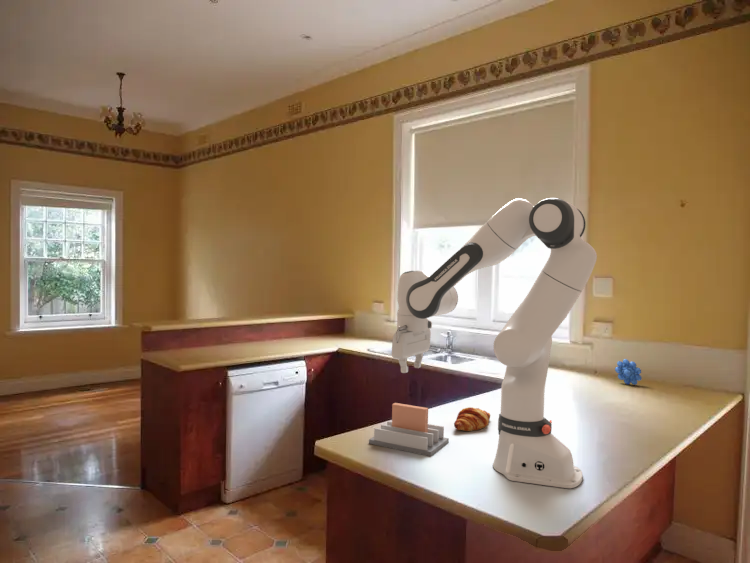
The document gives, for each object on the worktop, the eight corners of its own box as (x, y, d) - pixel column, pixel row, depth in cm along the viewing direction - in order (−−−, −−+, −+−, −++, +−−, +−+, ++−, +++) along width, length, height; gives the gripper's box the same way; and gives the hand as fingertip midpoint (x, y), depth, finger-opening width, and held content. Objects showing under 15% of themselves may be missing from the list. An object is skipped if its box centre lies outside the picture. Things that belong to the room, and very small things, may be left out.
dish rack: (448, 442, 160) (448, 426, 160) (430, 456, 148) (431, 439, 148) (390, 431, 170) (390, 416, 169) (368, 443, 157) (369, 427, 157)
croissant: (480, 428, 187) (472, 406, 189) (504, 419, 181) (495, 397, 184) (448, 440, 171) (440, 416, 173) (473, 432, 165) (464, 407, 167)
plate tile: (427, 441, 157) (428, 408, 157) (424, 443, 155) (425, 409, 155) (394, 434, 162) (395, 402, 162) (391, 436, 160) (392, 404, 160)
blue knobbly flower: (612, 384, 249) (613, 359, 249) (615, 381, 254) (616, 357, 254) (639, 387, 242) (640, 362, 242) (642, 385, 248) (643, 360, 247)
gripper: (406, 327, 147) (405, 377, 147) (434, 322, 165) (433, 365, 165) (386, 326, 150) (385, 374, 150) (415, 321, 168) (415, 364, 168)
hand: (411, 370), depth 158 cm, fingers open, 8 cm apart
